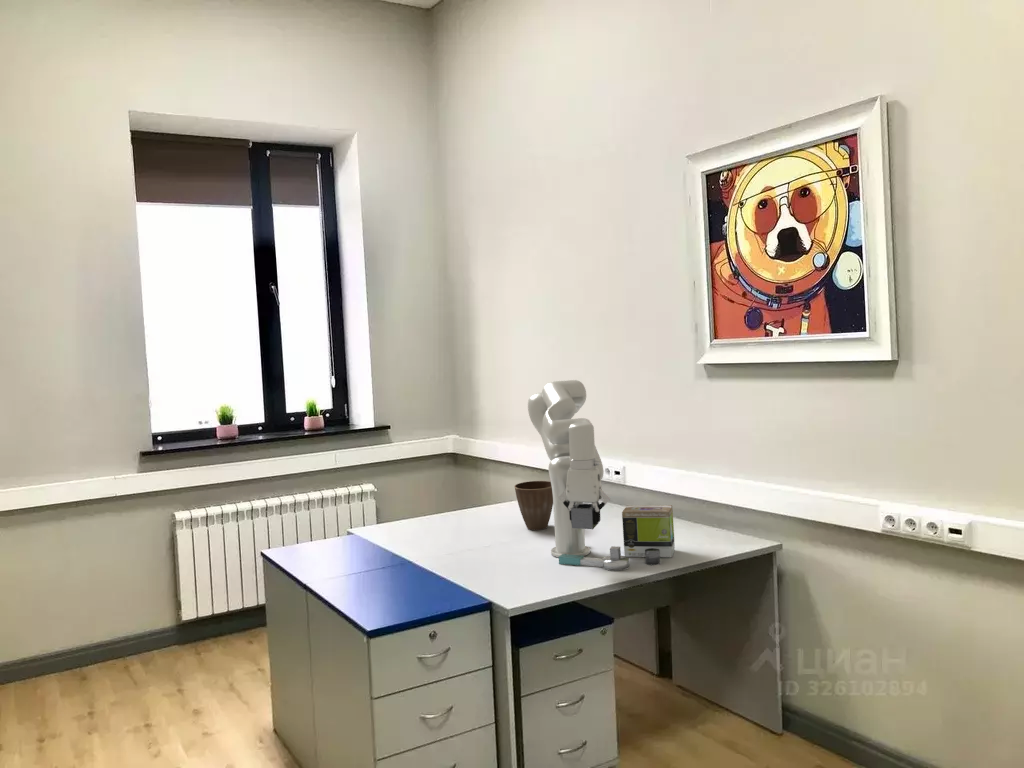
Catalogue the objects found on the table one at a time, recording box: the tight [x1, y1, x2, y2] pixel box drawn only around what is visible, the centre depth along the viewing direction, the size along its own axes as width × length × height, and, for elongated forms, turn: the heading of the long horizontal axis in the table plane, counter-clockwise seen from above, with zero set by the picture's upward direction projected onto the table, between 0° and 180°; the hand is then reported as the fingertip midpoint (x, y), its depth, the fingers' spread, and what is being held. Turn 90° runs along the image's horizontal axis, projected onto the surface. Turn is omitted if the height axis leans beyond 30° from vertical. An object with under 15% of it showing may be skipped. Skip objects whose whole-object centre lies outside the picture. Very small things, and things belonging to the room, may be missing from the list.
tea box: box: [621, 504, 676, 558], centre depth 265 cm, size 15×10×15 cm, turn 73°
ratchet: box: [558, 545, 630, 572], centre depth 256 cm, size 22×8×6 cm, turn 64°
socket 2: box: [644, 548, 661, 566], centre depth 255 cm, size 4×4×4 cm
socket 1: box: [571, 503, 597, 530], centre depth 249 cm, size 6×6×6 cm
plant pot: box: [514, 480, 554, 531], centre depth 306 cm, size 15×15×16 cm
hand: (585, 522), depth 249 cm, fingers closed on socket 1, 6 cm apart
